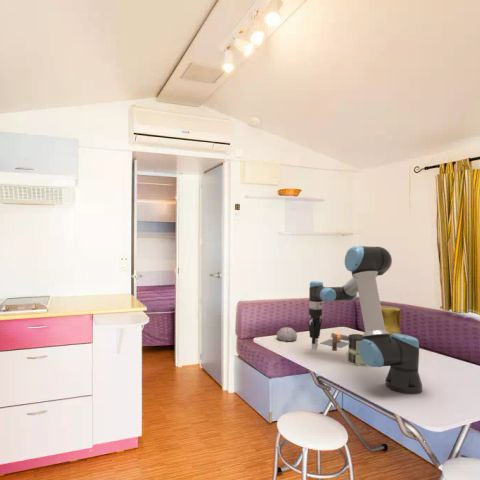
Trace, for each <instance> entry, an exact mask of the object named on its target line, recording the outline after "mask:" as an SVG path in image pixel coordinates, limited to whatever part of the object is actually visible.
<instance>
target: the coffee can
mask: <svg viewBox="0 0 480 480" xmlns="http://www.w3.org/2000/svg"><path fill="white" fill-rule="evenodd" d="M348 336H349V341H348V343H349V344H348V351H347V356H348V357H347V362H348V364H351V365H353V366H359V367H360V366H361V367H364V366H368V365H367V364H366V363H365V362H364V361H363V360H362V358H361V356H360V353H359V343H360V342H361V341H362V340H363V338H362V336H363V334H359V333H351V334H349V335H348Z"/></svg>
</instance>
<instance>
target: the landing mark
mask: <svg viewBox="0 0 480 480" xmlns="http://www.w3.org/2000/svg"><path fill="white" fill-rule="evenodd" d="M332 341H333V339H331V338H329V339H326V340H323V341H321V342H319V344H321V345H325V346H329V347H330V346H331V347H332ZM346 346H349V342H348V341H347V342H345V341H341V340H340V341H339V342H337V348H338V349H341V348H344V347H346Z"/></svg>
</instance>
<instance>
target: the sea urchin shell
mask: <svg viewBox="0 0 480 480" xmlns="http://www.w3.org/2000/svg"><path fill="white" fill-rule="evenodd" d="M276 338H277V339H278V340H279V341H282V342H292V341H295V340H297V339H298V334H297V331H295V330H294V329H293V328H292V327H288V326H285V327H281V328H280V329H279V330H278V331H277V332H276Z"/></svg>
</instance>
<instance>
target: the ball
mask: <svg viewBox="0 0 480 480" xmlns="http://www.w3.org/2000/svg"><path fill="white" fill-rule="evenodd" d="M334 333H335V332H334ZM335 334H336V335H337V342H339V341H341V340H342V339H341V336H340V333H337V332H336V333H335ZM331 338H332V340H333V336H332V337H331Z"/></svg>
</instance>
